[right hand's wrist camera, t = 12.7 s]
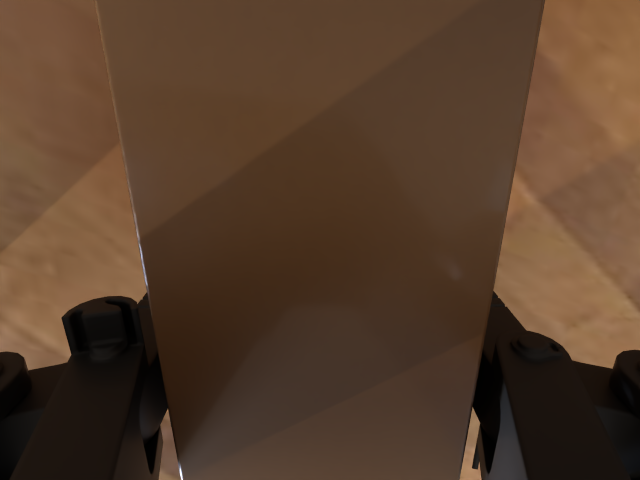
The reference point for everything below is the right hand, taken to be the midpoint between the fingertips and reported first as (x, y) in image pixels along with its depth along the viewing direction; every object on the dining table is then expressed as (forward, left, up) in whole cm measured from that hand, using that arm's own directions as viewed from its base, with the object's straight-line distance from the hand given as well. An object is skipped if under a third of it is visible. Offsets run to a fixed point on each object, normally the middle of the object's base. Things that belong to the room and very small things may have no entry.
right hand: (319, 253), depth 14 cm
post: (-14, -25, -1) cm, 29 cm away
